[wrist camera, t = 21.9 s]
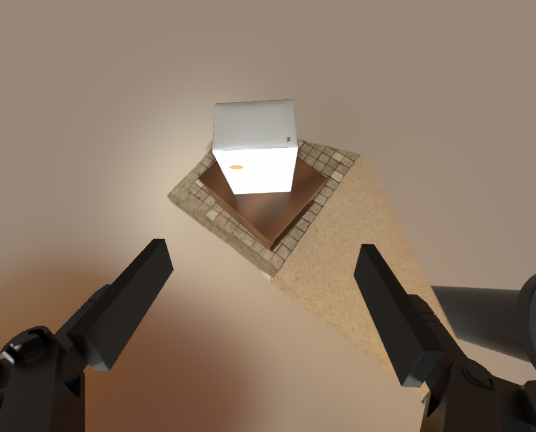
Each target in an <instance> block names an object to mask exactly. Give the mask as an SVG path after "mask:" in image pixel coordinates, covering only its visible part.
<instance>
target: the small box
mask: <svg viewBox="0 0 536 432" xmlns="http://www.w3.org/2000/svg"><path fill="white" fill-rule="evenodd" d="M214 115H215V116H214V133H213V149H212V151H213V154H214V156H215V158H216V160H217V162H218V164H219V165H220V167H221V169H222V171H223V173H224V175H225V177H226V179H227V181H228V183H229V185H230V187H231V189H232V191H233V193H234V194H246V193H266V192H289V191H291V186H292V180H293V174H294V168H295V163H296V157H297V151H298V143H297V133H296V122H295V111H294V101H293V99H287V100H271V101H253V102H236V103H217V104H215V114H214Z"/></svg>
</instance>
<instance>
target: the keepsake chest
mask: <svg viewBox="0 0 536 432" xmlns="http://www.w3.org/2000/svg"><path fill="white" fill-rule="evenodd" d="M198 179H199V181H200V182H201V183H202V184H203V185H204V186H205V187H206V189H207V190H208V191H209V193H210V194H211V195H212V196H213V198H214V199H215V200H216V203H217V204H218V205H220V206H221V207H222V208H223V209H224V210H225V211H226V212H227V213H229V214H230V215H231V216H232V217H233V218H234V219H235V220H236V221H238V222H239V223H240V224H241V225H242V226H243V227H244V228H245V229H247V230H248V231H249V232H250V233H251V234H252V235H253V236H254V237H256V238H257V239H258V240H259V241H260V242H261V243H262V244H263V245H265V246H266V247H267V248H268V249H269V250H270V251H271V252H272V251H273V250H274V249H275V248H276V247H277V246H278V244H279V243H280V242H281V241H282V240H283V239H284V238H285V236H286V235H287V234H288V233H289V232H290V231H291V230H292V228H293V227H294V226H295V225H296V224H297V223H298V222H299V220H300V219H301V218H302V217H303V216H304V215H305V214H306V212H307V211H308V210H309V209H310V208H311V207H312V206H313V204H314V203H315V201H314V200H313V198H314V196H315V194H316V193H317V192H318V191H319V190H320V188H321V187H322V186H323V185H324V184H325V183H326V181H327V178H326V177H324V176H323V175H322V174H320V173H319V172H317V171H316V170H315V169H313V168H312V167H311V166H309V165H308V164H307V163H305V162H304V161H303V160H301V159H300V158H299V157H296V163H295V168H294V174H293V180H292V186H291V191H289V192H266V193H246V194H234V193H233V191H232V189H231V187H230V185H229V183H228V181H227V179H226V177H225V175H224V173H223V171H222V169H221V167H220V165H219V164H218V162H217V161H216V162H215V163H214V164H213V165H211V166H210V167H209V168H208V169H207V170H206V171H205V172H204V173H203V174H202V175H201V176H200V177H199V178H198Z"/></svg>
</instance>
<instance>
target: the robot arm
mask: <svg viewBox="0 0 536 432" xmlns="http://www.w3.org/2000/svg"><path fill="white" fill-rule="evenodd" d="M172 271H173V266H172V263H171V259H170V256H169V253H168V249H167V246H166V242H165V239H153V240H152V241H151V242H150V243H149V244H148V245H147V246H146V248H145V249H144V250H143V251H142V252H141V253H140V254H139V255H138V256H137V257H136V258H135V259H134V260H133V262H132V263H131V264H130V265H129V266H128V267H127V268H126V269H125V270H124V271H123V272H122V274H121V275H120V276H119V277H118V278H117V279H116V280H115V281H114V282H113V283H112V284H109V285H108V284H106V285H105V286H103V287H102V288H101V289H99V290H98V291H96V292H95V293H94V294H93V295H92V296H91V297H90V298H89V299H88V301H87V302H85V303H84V304H83V305H82V306H81V309H78V311H77V312H76V313H75V314H74V315H73V316H72V317H71V318H70V319H69V320H68V321H67V322H66V323H65V324H64V325H63V326H62V327H61V328H60V329H59V330H58V331H57V332H56V333H55V334H54V335H53V334H52V333H51V331H50V330H49V329H48V328H47V327H45V326H36V327H33V328H30V329H27V330H26V331H23V332H21V333H20V334H18V335H17V336H15V337H14V338H12V339H11V340H10V341H9V342H8V343H7V344H6V345H5V346H4V347H3V349H2V350H1V352H0V353H1V354H2V355H3V356H4V357H5V358H3V359H0V432H85V375H84V372H83V370H84V369H85V367H86V366H87V364H89V365H90V366H91V367H92V369H93V370H100V371H110V370H111V368H112V366H113V365H114V363H115V362H116V360H117V359H118V357H119V355H120V354H121V352H122V351H123V349H124V347H125V346H126V344H127V343H128V341H129V340H130V338H131V336H132V335H133V333H134V332H135V330H136V328H137V327H138V325H139V324H140V322H141V320H142V319H143V317H144V315H145V314H146V313H147V311H148V309H149V308H150V306H151V305H152V303H153V301H154V300H155V298H156V297H157V295H158V294H159V292H160V290H161V289H162V287H163V286H164V284H165V282H166V281H167V279H168V278H169V276H170V274H171V273H172ZM354 277H355V280H356V282H357V284H358V287H359V289H360V291H361V294H362V296H363V298H364V301H365V303H366V305H367V308H368V310H369V312H370V315H371V317H372V319H373V322H374V324H375V326H376V328H377V331H378V333H379V335H380V338H381V340H382V342H383V345H384V347H385V349H386V352H387V354H388V356H389V359H390V361H391V363H392V366H393V368H394V370H395V372H396V375H397V377H398V379H399V382H400V384H401V386H403V387H420V386H421V385H422V384H423V382H424V381H425V382H426V384H427V386H428V388H429V389H430V391H429V392H428V393H427V395H426V396H425V397H424V399H423V400H422V403H423V404H425V403H426V405H425V409H424V414H423V419H422V424H421V429H420V432H536V381H535V380H533V381H527V382H526V383H525V384H524V385H522V386H521V385H518V384H515V383H512V382H510V381H507V380H504V379H501V378H498V377H495V376H493V375H492V374H491V373H490V372H489V371H488V370H487V369H486V368H485V367H483V366H482V365H480V364H479V363H477V362H476V361H474V360H471V359H469V358H467V356H466V355H465V354H464V353H463V351H462V350H461V349H460V347H459V346H458V345H457V343H456V342H455V341H454V339H453V338H452V336H451V335H450V334H449V332H448V331H447V330H446V328H445V327H444V326H443V324H442V323H440V320H439V319H438V317H437V316H436V315H434V312H433V311H432V309H431V308H430V307H429V305H428V304H427V303H426V302H425V301H424V300H423V299H421V298H420V297H419V296H418V295H413V294H407V293H406V292H405V290H404V289H403V287H402V286H401V284H400V283H399V281H398V280H397V278H396V277H395V275H394V274H393V272H392V271H391V269H390V268H389V266H388V265H387V263H386V262H385V260H384V259H383V257H382V256H381V254H380V253H379V251H378V250H377V248H376V247H375V245H374V244H362V245H361V249H360V253H359V257H358V260H357V264H356V268H355V272H354Z"/></svg>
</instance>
